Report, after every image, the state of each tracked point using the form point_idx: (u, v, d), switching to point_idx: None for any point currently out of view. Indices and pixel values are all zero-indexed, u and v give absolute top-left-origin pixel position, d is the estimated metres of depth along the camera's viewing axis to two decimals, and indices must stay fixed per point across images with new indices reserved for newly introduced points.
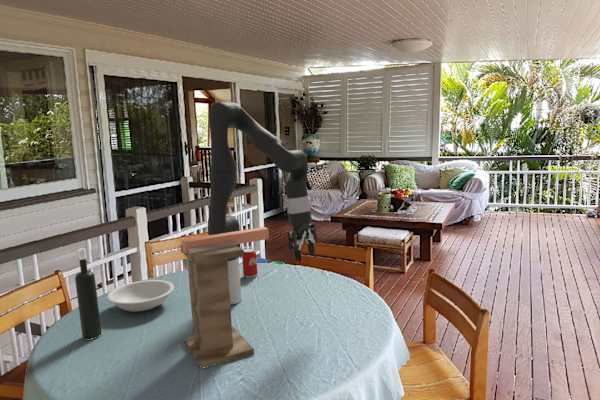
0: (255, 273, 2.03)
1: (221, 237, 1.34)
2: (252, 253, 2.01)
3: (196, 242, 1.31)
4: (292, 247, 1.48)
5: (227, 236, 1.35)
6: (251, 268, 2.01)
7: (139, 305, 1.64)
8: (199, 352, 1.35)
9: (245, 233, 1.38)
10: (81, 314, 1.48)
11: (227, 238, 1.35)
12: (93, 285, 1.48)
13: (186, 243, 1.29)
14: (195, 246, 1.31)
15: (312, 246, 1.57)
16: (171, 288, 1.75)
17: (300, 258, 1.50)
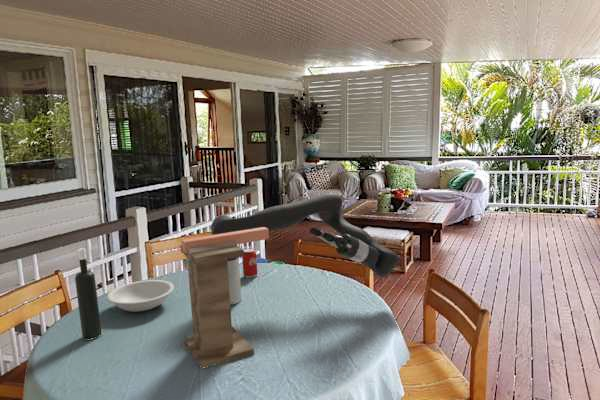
0: (255, 273, 2.03)
1: (221, 237, 1.34)
2: (252, 253, 2.01)
3: (196, 242, 1.31)
4: (340, 241, 1.49)
5: (227, 236, 1.35)
6: (251, 268, 2.01)
7: (139, 305, 1.64)
8: (199, 352, 1.35)
9: (245, 233, 1.38)
10: (81, 314, 1.48)
11: (227, 238, 1.35)
12: (93, 285, 1.48)
13: (186, 243, 1.29)
14: (195, 246, 1.31)
15: (316, 234, 1.57)
16: (171, 288, 1.75)
17: (325, 238, 1.48)
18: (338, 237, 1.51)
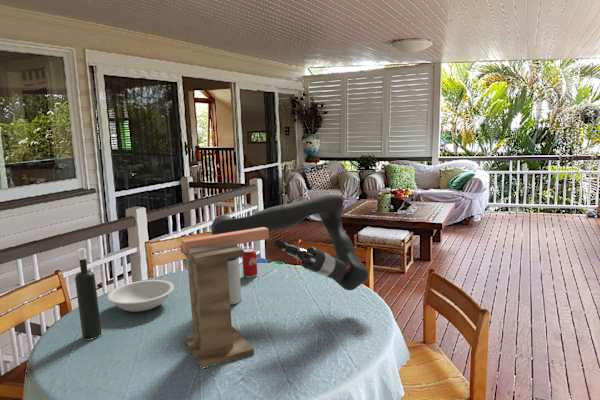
0: (255, 273, 2.03)
1: (221, 237, 1.34)
2: (252, 253, 2.01)
3: (196, 242, 1.31)
4: (303, 255, 1.43)
5: (227, 236, 1.35)
6: (251, 268, 2.01)
7: (139, 305, 1.64)
8: (199, 352, 1.35)
9: (245, 233, 1.38)
10: (81, 314, 1.48)
11: (227, 238, 1.35)
12: (93, 285, 1.48)
13: (186, 243, 1.29)
14: (195, 246, 1.31)
15: (280, 247, 1.51)
16: (171, 288, 1.75)
17: (288, 252, 1.42)
18: (302, 250, 1.45)
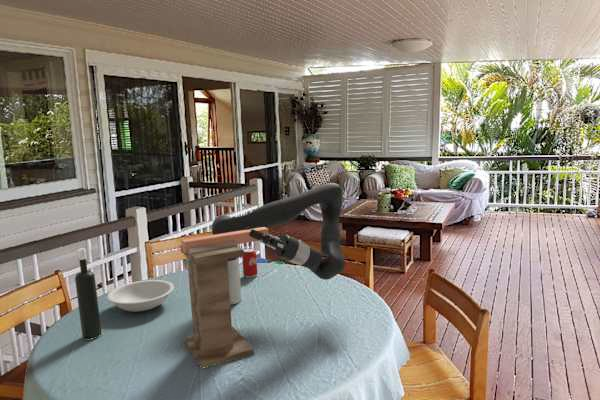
0: (255, 273, 2.03)
1: (221, 237, 1.34)
2: (252, 253, 2.01)
3: (196, 242, 1.31)
4: (268, 240, 1.39)
5: (227, 236, 1.35)
6: (251, 268, 2.01)
7: (139, 305, 1.64)
8: (199, 352, 1.35)
9: (245, 233, 1.38)
10: (81, 314, 1.48)
11: (227, 238, 1.35)
12: (93, 285, 1.48)
13: (186, 243, 1.30)
14: (195, 246, 1.31)
15: None
16: (171, 288, 1.75)
17: (252, 236, 1.38)
18: None
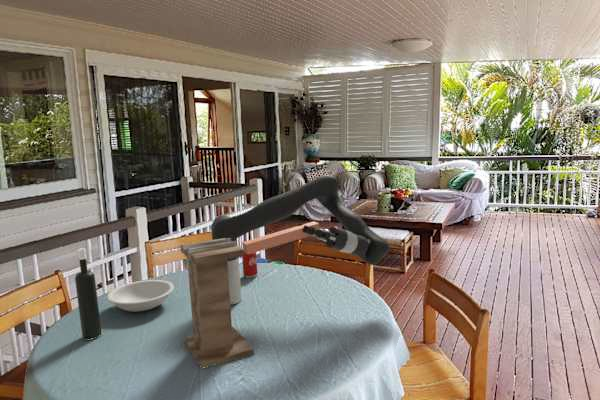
0: (255, 273, 2.03)
1: (278, 236, 1.42)
2: (252, 253, 2.01)
3: (256, 243, 1.39)
4: (321, 234, 1.47)
5: (283, 234, 1.43)
6: (251, 268, 2.01)
7: (139, 305, 1.64)
8: (199, 352, 1.35)
9: (299, 230, 1.46)
10: (81, 314, 1.48)
11: (283, 236, 1.43)
12: (93, 285, 1.48)
13: (248, 245, 1.38)
14: (256, 247, 1.39)
15: None
16: (171, 288, 1.75)
17: (306, 232, 1.47)
18: (319, 229, 1.48)
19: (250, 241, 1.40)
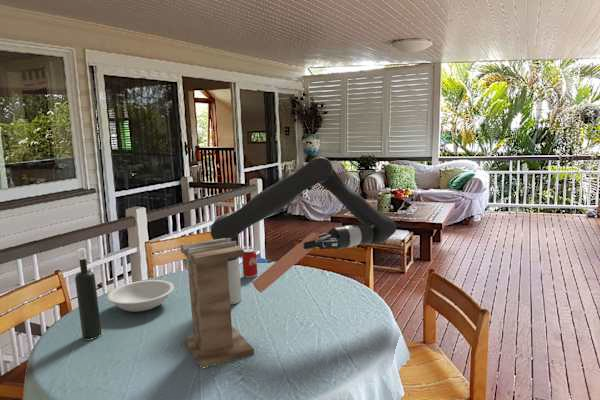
0: (255, 273, 2.03)
1: (282, 264, 1.46)
2: (252, 253, 2.01)
3: (265, 279, 1.43)
4: (322, 245, 1.48)
5: (287, 260, 1.46)
6: (251, 268, 2.01)
7: (139, 305, 1.64)
8: (199, 352, 1.35)
9: (300, 249, 1.48)
10: (81, 314, 1.48)
11: (287, 261, 1.46)
12: (93, 285, 1.48)
13: (257, 285, 1.42)
14: (266, 283, 1.44)
15: None
16: (171, 288, 1.75)
17: (307, 248, 1.49)
18: (320, 240, 1.50)
19: (259, 279, 1.44)
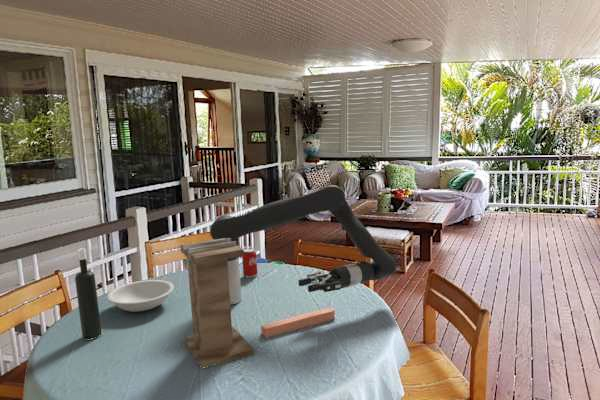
0: (255, 273, 2.03)
1: (295, 321, 1.51)
2: (252, 253, 2.01)
3: (274, 328, 1.47)
4: (326, 287, 1.50)
5: (300, 320, 1.52)
6: (251, 268, 2.01)
7: (139, 305, 1.64)
8: (199, 352, 1.35)
9: (315, 316, 1.54)
10: (81, 314, 1.48)
11: (300, 321, 1.52)
12: (93, 285, 1.48)
13: (266, 329, 1.46)
14: (273, 331, 1.47)
15: (307, 283, 1.56)
16: (171, 288, 1.75)
17: (311, 291, 1.50)
18: (323, 282, 1.51)
19: (269, 325, 1.48)
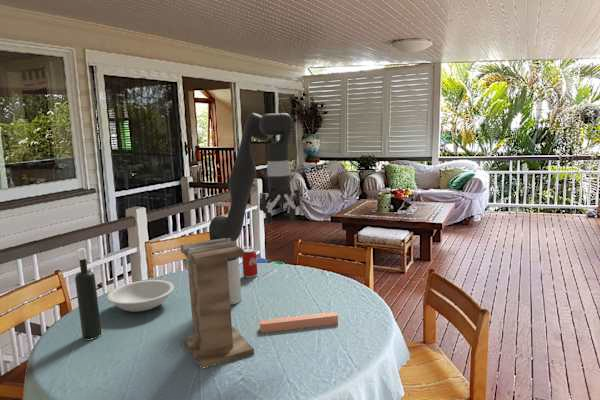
0: (255, 273, 2.03)
1: (293, 321, 1.51)
2: (252, 253, 2.01)
3: (270, 325, 1.50)
4: (261, 208, 1.52)
5: (298, 321, 1.52)
6: (251, 268, 2.01)
7: (139, 305, 1.64)
8: (199, 352, 1.35)
9: (315, 319, 1.52)
10: (81, 314, 1.48)
11: (298, 322, 1.52)
12: (93, 285, 1.48)
13: (262, 325, 1.49)
14: (269, 328, 1.50)
15: (291, 211, 1.57)
16: (171, 288, 1.75)
17: (269, 220, 1.53)
18: (266, 206, 1.54)
19: (266, 321, 1.51)
